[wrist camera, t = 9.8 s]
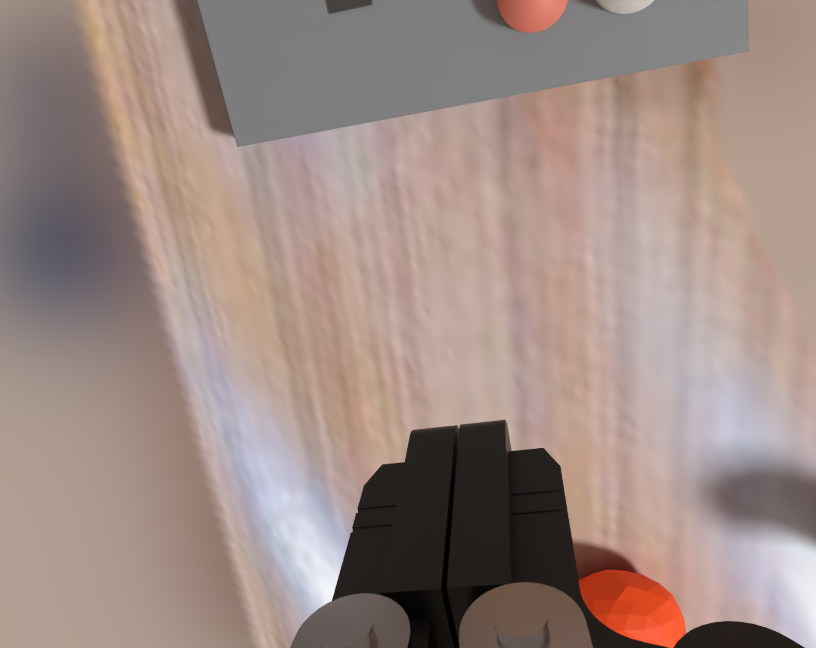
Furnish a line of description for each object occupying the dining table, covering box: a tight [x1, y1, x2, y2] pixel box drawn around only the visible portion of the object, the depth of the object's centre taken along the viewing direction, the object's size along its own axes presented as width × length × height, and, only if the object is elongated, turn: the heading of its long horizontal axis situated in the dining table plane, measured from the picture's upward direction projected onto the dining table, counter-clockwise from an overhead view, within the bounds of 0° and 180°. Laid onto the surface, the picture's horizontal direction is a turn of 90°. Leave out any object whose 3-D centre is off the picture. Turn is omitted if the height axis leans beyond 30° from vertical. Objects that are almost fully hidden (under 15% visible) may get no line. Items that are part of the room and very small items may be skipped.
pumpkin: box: [579, 569, 686, 648], centre depth 43 cm, size 7×8×6 cm
